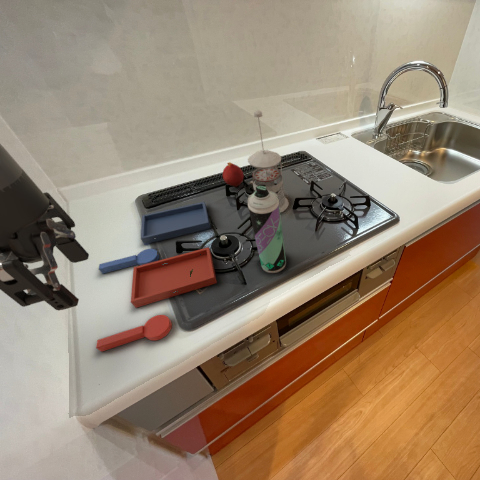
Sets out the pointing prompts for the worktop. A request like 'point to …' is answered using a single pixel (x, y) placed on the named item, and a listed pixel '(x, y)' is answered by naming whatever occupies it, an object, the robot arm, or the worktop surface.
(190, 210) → the blue tray
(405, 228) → the worktop surface
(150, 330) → the red spoon
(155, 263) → the red tray
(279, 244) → the spray can
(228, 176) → the onion
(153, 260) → the blue spoon
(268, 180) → the french press
